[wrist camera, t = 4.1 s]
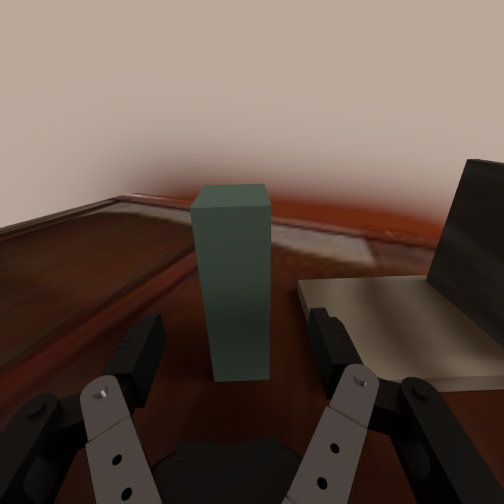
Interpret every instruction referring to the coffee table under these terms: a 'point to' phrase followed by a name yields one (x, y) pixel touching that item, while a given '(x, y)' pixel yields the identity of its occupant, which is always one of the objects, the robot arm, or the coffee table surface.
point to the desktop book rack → (434, 299)
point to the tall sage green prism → (235, 277)
